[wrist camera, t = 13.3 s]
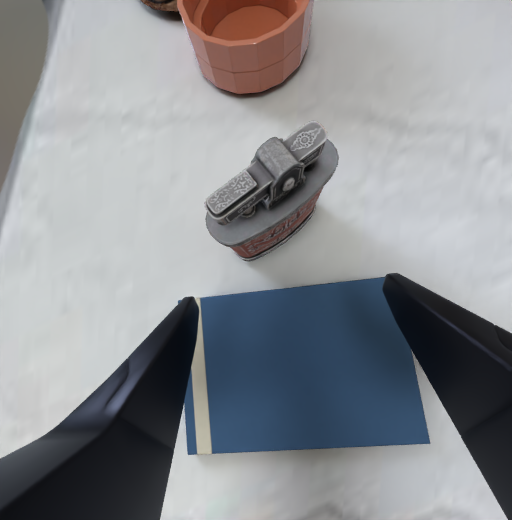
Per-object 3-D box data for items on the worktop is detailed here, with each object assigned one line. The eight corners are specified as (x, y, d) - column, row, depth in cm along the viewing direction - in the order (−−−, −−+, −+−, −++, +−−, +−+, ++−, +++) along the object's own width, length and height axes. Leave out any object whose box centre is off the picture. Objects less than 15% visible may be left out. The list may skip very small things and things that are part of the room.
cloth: (424, 437, 15) (431, 444, 15) (190, 449, 17) (187, 455, 16) (392, 276, 17) (396, 275, 16) (180, 300, 18) (177, 300, 18)
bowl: (280, 111, 20) (281, 60, 15) (180, 81, 21) (155, 26, 17) (324, 15, 20) (337, -60, 16) (224, -8, 22) (211, -82, 17)
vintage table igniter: (298, 186, 19) (322, 73, 9) (322, 214, 18) (377, 129, 8) (226, 240, 19) (169, 188, 9) (248, 270, 18) (213, 251, 8)
